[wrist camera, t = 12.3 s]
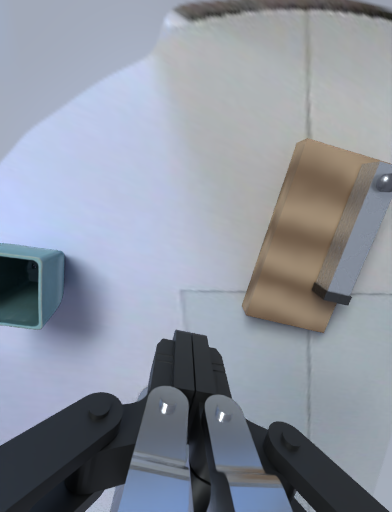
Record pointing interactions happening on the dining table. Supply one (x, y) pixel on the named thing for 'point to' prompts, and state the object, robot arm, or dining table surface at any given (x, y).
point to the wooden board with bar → (302, 236)
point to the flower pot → (29, 285)
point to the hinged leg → (355, 232)
